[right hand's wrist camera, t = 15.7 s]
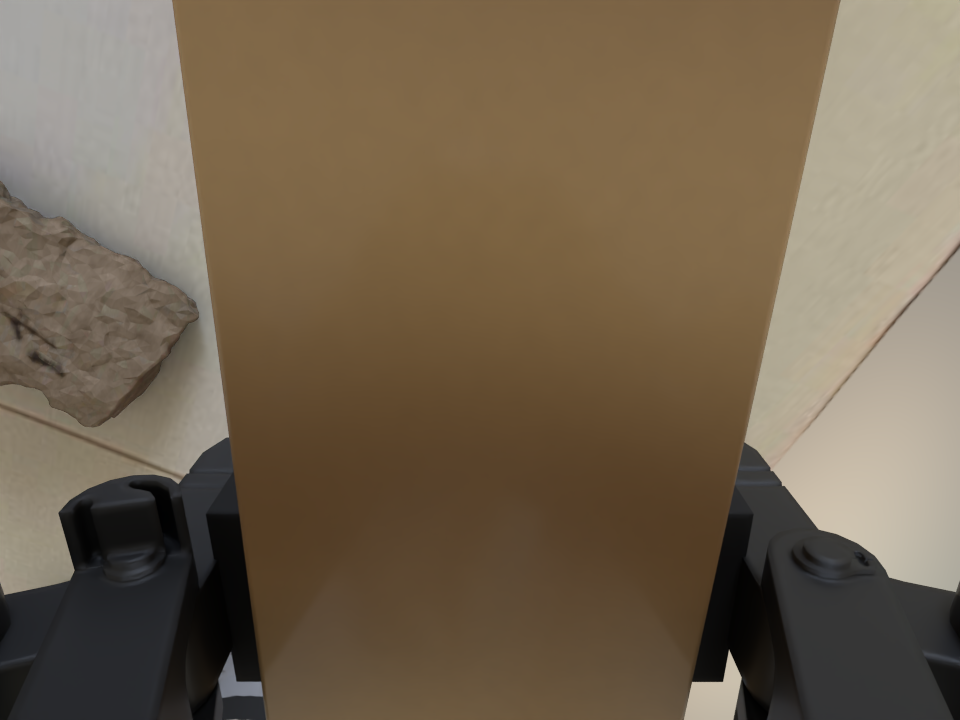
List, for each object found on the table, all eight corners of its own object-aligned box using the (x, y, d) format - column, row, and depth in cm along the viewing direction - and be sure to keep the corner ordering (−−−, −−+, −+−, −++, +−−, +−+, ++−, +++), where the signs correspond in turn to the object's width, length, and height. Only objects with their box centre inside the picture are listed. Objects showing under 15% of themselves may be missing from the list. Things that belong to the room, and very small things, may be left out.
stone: (-150, 288, 50) (-204, 306, 44) (-43, 128, 49) (-85, 126, 43) (118, 426, 58) (101, 456, 53) (215, 292, 57) (207, 308, 52)
